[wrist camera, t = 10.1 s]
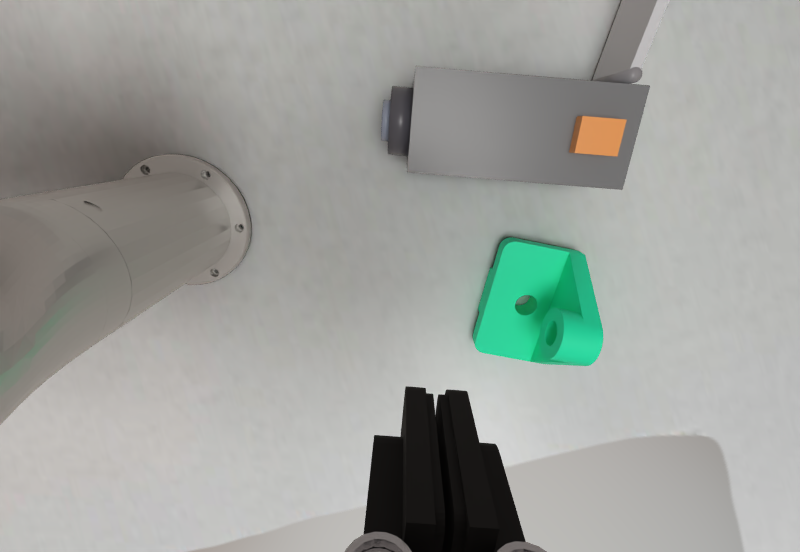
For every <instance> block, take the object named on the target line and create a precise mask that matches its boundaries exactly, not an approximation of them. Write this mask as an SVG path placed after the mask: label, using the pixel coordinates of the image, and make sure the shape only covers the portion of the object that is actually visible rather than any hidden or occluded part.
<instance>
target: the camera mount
mask: <svg viewBox="0 0 800 552" xmlns="http://www.w3.org/2000/svg"><path fill="white" fill-rule="evenodd" d="M524 295H530V298H529V300H528V301H527V302H526V303H525V304H523V305H515V303H516V301H517V300H518V299H519V298H520V297H522V296H524ZM478 310H479V316H478V319H477V323H476V326H475V329H474V333H473V341H474V344H475V347H476V349H477V350H478V351H479V352H482V353H487V354H492V355H498V356H503V357H508V358H514V359H519V360H525V361H530V362H535V363H541V364H554V365H578V366H589V365H591V364H592V363H594V362H595V360H596V359H597V358H598V356H599V354H600V351H601V348H602V344H603V329H602V324H601V320H600V316H599V312H598V307H597V303H596V299H595V295H594V291H593V286H592V282H591V278H590V274H589V269H588V265H587V261H586V257H585V255H584V254H582V253H581V252H579V251H577V250H572V249H567V248H562V247H557V246H552V245H547V244H542V243H537V242H532V241H527V240H522V239H517V238H512V237H510V238H506V239H504V240H503V241H502V242H501V243H500V245H499V248H498V252H497V255H496V259H495V262H494V265H493V268H491V267H490V270H489V273H488V276H487V280H486V283H485V287H484V290H483V293H482V297H481V300H480V304H479V307H478Z"/></svg>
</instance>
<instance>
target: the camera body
mask: <svg viewBox="0 0 800 552" xmlns="http://www.w3.org/2000/svg"><path fill="white" fill-rule="evenodd" d="M649 88H650V86H649V85H637V84H625V83H613V82H601V81H589V80H577V79H565V78H553V77H541V76H529V75H517V74H505V73H493V72H481V71H469V70H457V69H445V68H433V67H421V66H416V68H415V75H414V83H413V88H409V87H397V86H392V92H391V100H384V102H383V110H382V127H381V140H382V141H388V154H392V155H404V156H408V158H407V172H408V173H420V174H433V175H445V176H458V177H470V178H483V179H495V180H508V181H520V182H532V183H545V184H557V185H570V186H582V187H595V188H607V189H619V190H622V189H623V186H624V182H625V178H626V174H627V171H628V167H629V163H630V159H631V156H632V152H633V148H634V144H635V141H636V137H637V133H638V129H639V125H640V122H641V118H642V114H643V110H644V107H645V103H646V99H647V95H648V92H649Z"/></svg>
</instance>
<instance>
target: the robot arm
mask: <svg viewBox="0 0 800 552" xmlns="http://www.w3.org/2000/svg"><path fill="white" fill-rule="evenodd" d="M149 168H150V170H149ZM208 172H210V175H211V176H209V175H208ZM241 225H242V226H243V227H244V229H243V228H241ZM250 238H251V222H250V217H249V212H248V209H247V207H246V204H245V201H244V199H243V197H242V196H241V194H240V192H239V191H238V189H237V188H236V186H235V185H234V184H233V183H232V182H231V181H230V179H229V178H228V177H227V176H225V175H224V174H223V173H222V172H221V171H219V170H218V169H217V168H215V167H214V166H212V165H210V164H209V163H207V162H205V161H203V160H200V159H197V158H195V157H192V156H186V155H180V154H167V155H159V156H154V157H151V158H148V159H145V160H143V161H141V162H140V163H138V164H136V165H135V166H133V167H132V168H131V169H130V170H129V171H128V173H127V174H126V175H125V176H124V178H123V179H122V180H116V181H110V182H104V183H98V184H92V185H85V186H79V187H73V188H67V189H60V190H54V191H48V192H42V193H35V194H29V195H23V196H16V197H10V198H4V199H0V425H1V424H2V423H3V422H4V421H5V420H6V419H7V417H8V416H9V415H10V414H11V413H12V412H13V411H14V410H15V409H16V408H17V407H18V406H19V405H20V404H21V403H22V402H23V401H24V400H25V399H26V398H27V397H28V396H29V395H30V394H31V393H33V392H34V391H35V390H36V389H37V388H38V387H39V386H41V385H42V384H43V383H44V382H45V381H46V380H47V379H49V378H50V377H51V376H52V375H54V374H55V373H56V372H58V371H59V370H60V369H61V368H63V367H64V366H65V365H67V364H68V363H69V362H71V361H72V360H74V359H75V358H76V357H78V356H79V355H80V354H82V353H83V352H85V351H86V350H88V349H89V348H90V347H92V346H93V345H95V344H96V343H98V342H99V341H101V340H102V339H104V338H105V337H107V336H108V335H110V334H111V333H113V332H114V331H116V330H117V329H119V328H120V327H122V326H123V325H125V324H126V323H128V322H129V321H131V320H132V319H134V318H135V317H137V316H138V315H140V314H141V313H143V312H144V311H146V310H147V309H149V308H150V307H151V306H153V305H154V304H156V303H157V302H159V301H160V300H162V299H163V298H165V297H166V296H168V295H169V294H171V293H172V292H174V291H175V290H177V289H178V288H180V287H181V286H183V285H184V284H188V285H201V284H206V283H211V282H214V281H216V280H218V279H221V278H223V277H224V276H226V275H227V274H229V273H230V272H231V271H232V270H233V269H235V268H236V267H237V266H238V265H239V263H240V262H241V261H242V259H243V258H244V256H245V254H246V252H247V250H248V247H249V243H250ZM216 269H217V270H218V271H217V270H216ZM345 552H546V551H545V550H543V549H542V548H540V547H539V546H536V545H533V544H530V543H528V542H525V538H524V535H523V531H522V528H521V525H520V521H519V518H518V515H517V511H516V508H515V504H514V501H513V497H512V494H511V491H510V487H509V484H508V480H507V477H506V474H505V470H504V466H503V463H502V460H501V456H500V453H499V450H498V447H497V446H496V444H490V443H479V439H478V435H477V431H476V427H475V422H474V418H473V414H472V410H471V406H470V401H469V397H468V393H467V391H459V390H446V392H445V395H440V394H439V395H438V400H437V407H436V415H435V408H434V398H433V394H426V389H425V388H419V387H406V388H405V397H404V407H403V418H402V428H401V437H393V436H379V435H374V443H373V452H372V462H371V471H370V480H369V490H368V499H367V510H366V518H365V527H364V535H362V536H360V537H359V538H357V539H355V540H354V541H353V542H352V543H351V544H350V545H349V547H348V548H347V549H346V550H345Z"/></svg>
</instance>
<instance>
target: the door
mask: <svg viewBox="0 0 800 552" xmlns="http://www.w3.org/2000/svg"><path fill="white" fill-rule="evenodd" d="M669 1H670V0H622V1H621V4H620V7H619V9H618V12H617V15H616V17H615V20H614V23H613V26H612V28H611V31H610V34H609V36H608V39H607V42H606V44H605V47H604V50H603V52H602V55H601V58H600V61H599V63H598V66H597V69H596V71H595V74H594V77H593V79H592V80H591V81H601V82H613V83H625V84H630V83H635V82H637V81H639V80H640V78H641V76H642V70H641V69H642V67H643V65H644V62H645V60H646V57H647V55H648V52H649V50H650V47H651V45H652V42H653V40H654V38H655V35H656V33H657V30H658V28H659V25H660V23H661V20H662V18H663V15H664V13H665V11H666V8H667V6H668V3H669Z"/></svg>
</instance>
